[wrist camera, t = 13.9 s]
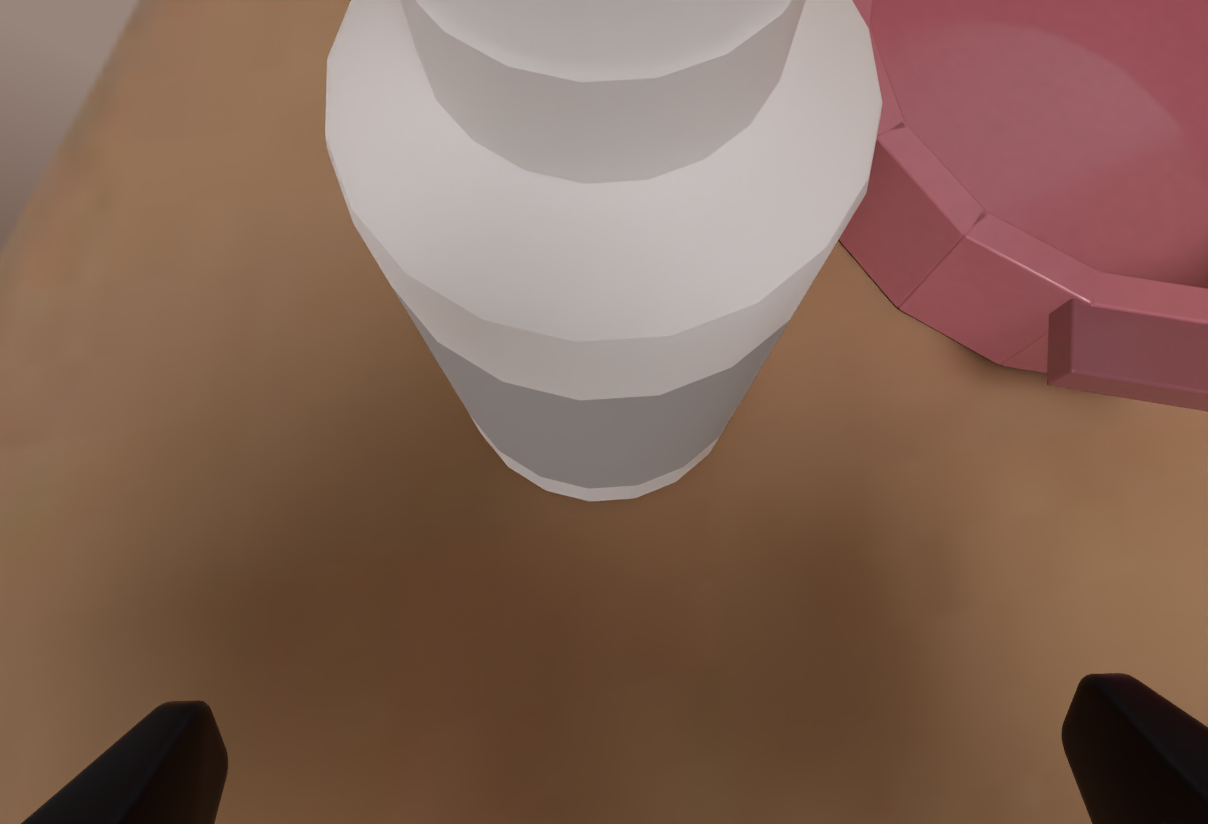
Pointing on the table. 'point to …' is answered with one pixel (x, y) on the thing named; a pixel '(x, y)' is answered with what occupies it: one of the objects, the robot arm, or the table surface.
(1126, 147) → the pot
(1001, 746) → the table surface
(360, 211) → the spray bottle
